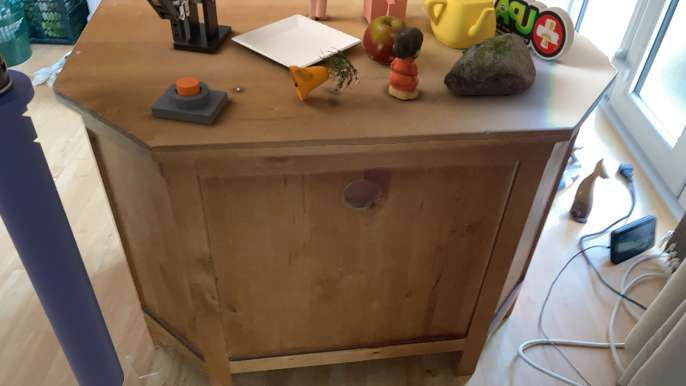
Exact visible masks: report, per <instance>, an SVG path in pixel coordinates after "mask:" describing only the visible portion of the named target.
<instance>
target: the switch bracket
mask: <svg viewBox="0 0 686 386" xmlns="http://www.w3.org/2000/svg"><path fill="white" fill-rule="evenodd" d="M201 7H202V16H203V22H200V15H199V9H198V3H193V7H189V15H188V16H187V17H188V24H189V31H190V39H189V40H188V41H187V42H186V43H178V42H175V41H173V43H172V45H173V49H174V50H177V51H178V50H179V51H186V52H192V53H193V52H194V53H200V54H201V53H202V54H210V55H213V54H214V53H215V52H216V51H217V50H218V49H219V48H220V46H221V45H222V44H223V43H224V41H225V40H226V39H227V38H228V37H229V36H230V35H231V34H232V32H233V28H232V25H223V24H219V21H218V10H217V1H216V0H202V3H201Z"/></svg>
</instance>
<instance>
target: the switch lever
mask: <svg viewBox="0 0 686 386" xmlns="http://www.w3.org/2000/svg"><path fill="white" fill-rule="evenodd" d="M194 3H197V4H200V5H202V0H194Z"/></svg>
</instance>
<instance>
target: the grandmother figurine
mask: <svg viewBox="0 0 686 386" xmlns="http://www.w3.org/2000/svg"><path fill="white" fill-rule="evenodd" d="M308 6H309V7H308V14H309V15H308V16H307V18H309V19H311V20H314V21H316V20H317V18H318V20H319V21H326V20H328V17H327V15H326V14H327V9H328V8H327V7H328V0H309V5H308Z"/></svg>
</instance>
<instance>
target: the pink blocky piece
mask: <svg viewBox="0 0 686 386" xmlns="http://www.w3.org/2000/svg"><path fill="white" fill-rule="evenodd" d="M407 6H408V0H363V7H362V8H363V9H362V14H363V15H364V18H365V19H366V21H367V22H368V25H369V24H370V23H371V22H372V21H373V20H375V19H376V18H378V17H381V16H392V17H395V18H398V19H400V20H402V21H403V22H404V23H405V24H406V16H407Z"/></svg>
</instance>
